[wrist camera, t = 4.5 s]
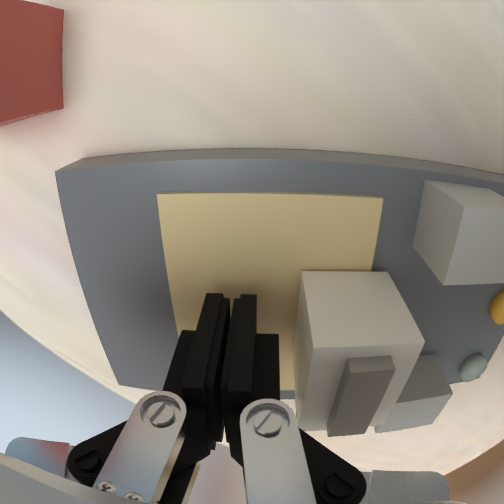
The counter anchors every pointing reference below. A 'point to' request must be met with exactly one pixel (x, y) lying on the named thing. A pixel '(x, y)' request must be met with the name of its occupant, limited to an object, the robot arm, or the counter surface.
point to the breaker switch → (351, 350)
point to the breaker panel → (286, 252)
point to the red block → (29, 60)
